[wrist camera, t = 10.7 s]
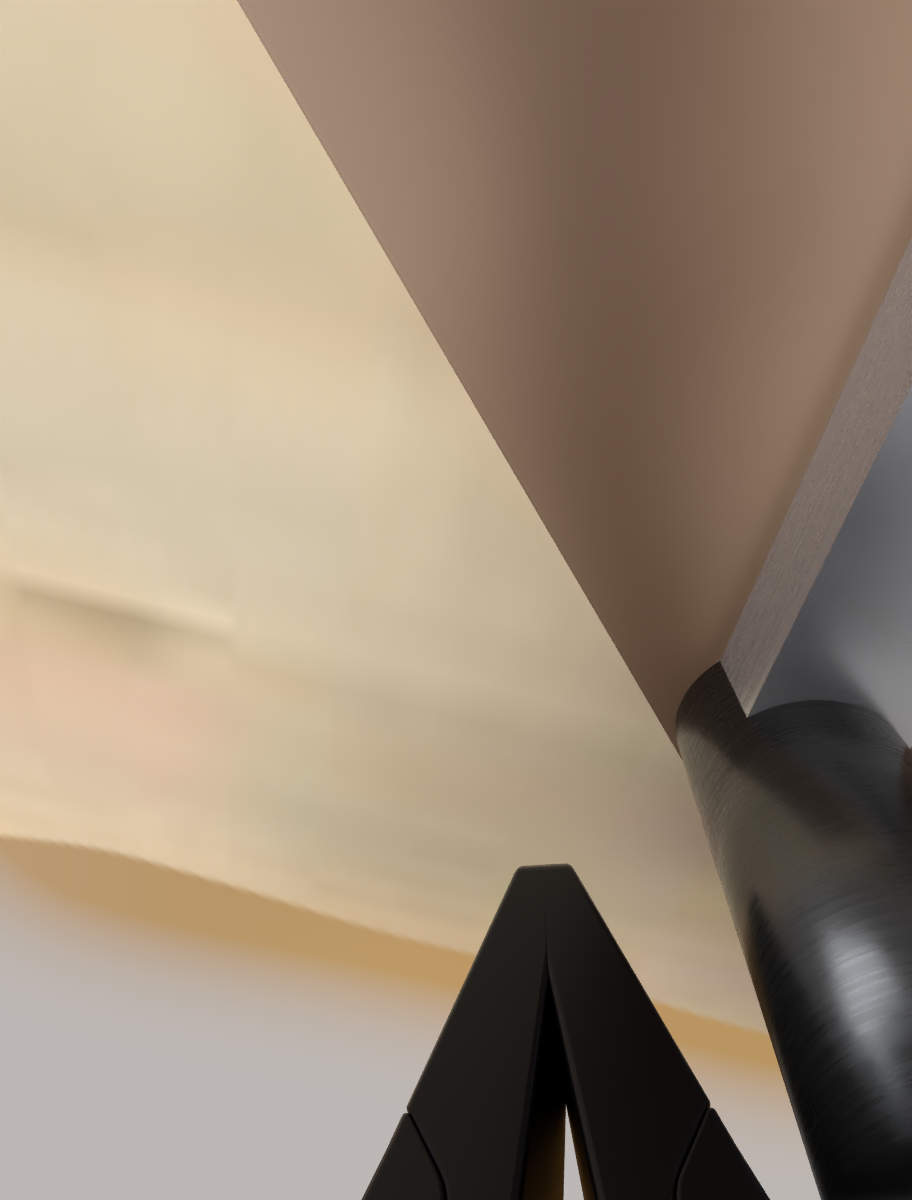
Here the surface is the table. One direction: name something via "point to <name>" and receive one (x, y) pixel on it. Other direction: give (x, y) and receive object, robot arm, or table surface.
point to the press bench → (630, 256)
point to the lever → (828, 777)
